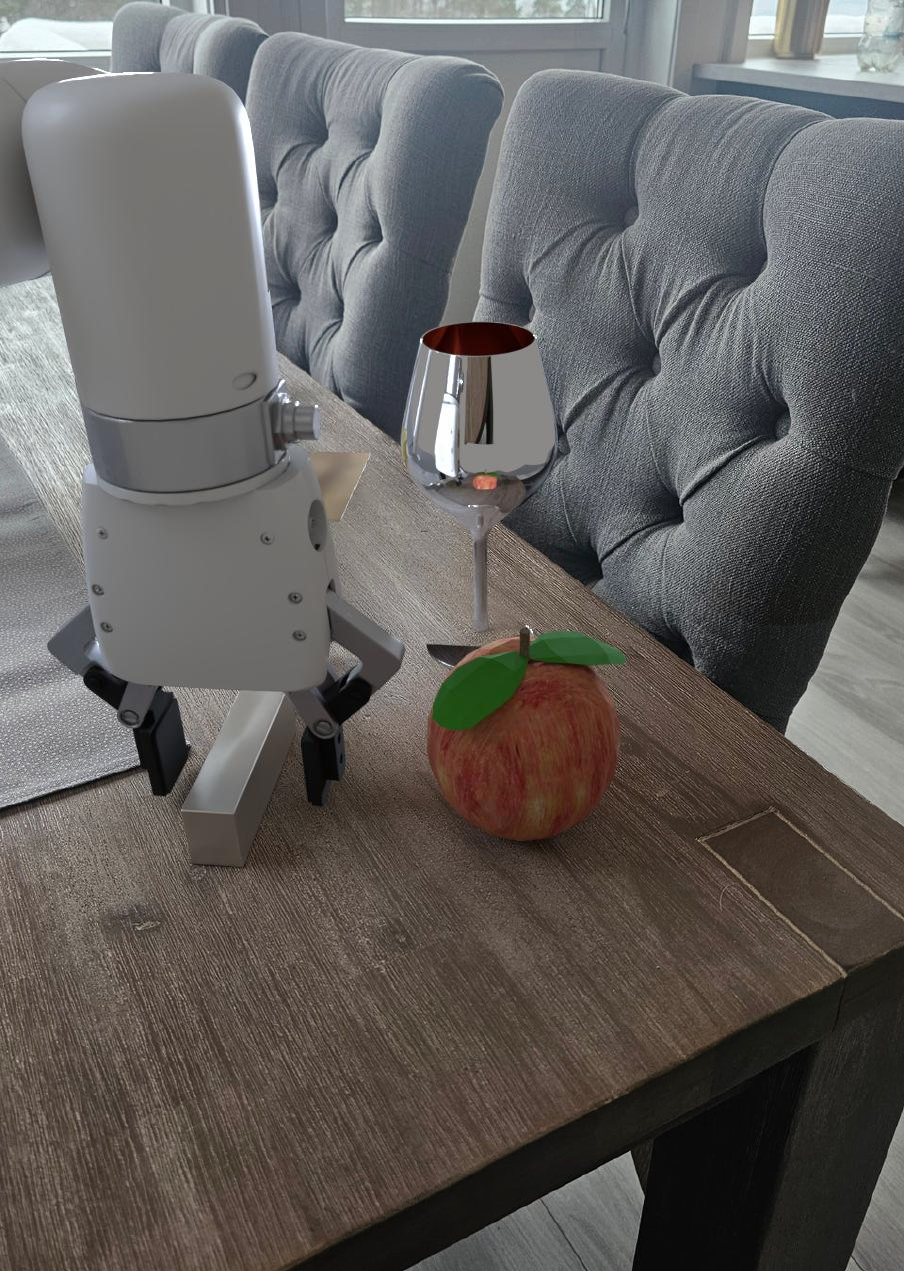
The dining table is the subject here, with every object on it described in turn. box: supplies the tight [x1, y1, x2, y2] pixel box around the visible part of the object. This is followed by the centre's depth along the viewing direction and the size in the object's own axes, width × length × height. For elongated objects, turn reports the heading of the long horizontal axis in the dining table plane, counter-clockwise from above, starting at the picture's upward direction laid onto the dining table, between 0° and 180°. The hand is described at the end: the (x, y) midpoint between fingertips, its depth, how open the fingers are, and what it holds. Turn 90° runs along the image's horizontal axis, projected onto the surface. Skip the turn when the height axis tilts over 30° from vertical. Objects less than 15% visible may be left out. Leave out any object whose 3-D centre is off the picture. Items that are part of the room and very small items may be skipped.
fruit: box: [426, 627, 627, 842], centre depth 47 cm, size 9×10×10 cm
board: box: [308, 451, 372, 522], centre depth 80 cm, size 18×12×1 cm, turn 83°
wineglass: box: [400, 320, 559, 670], centre depth 57 cm, size 8×8×18 cm
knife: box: [180, 690, 298, 868], centre depth 55 cm, size 22×2×3 cm, turn 173°
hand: (246, 779), depth 51 cm, fingers open, 6 cm apart
